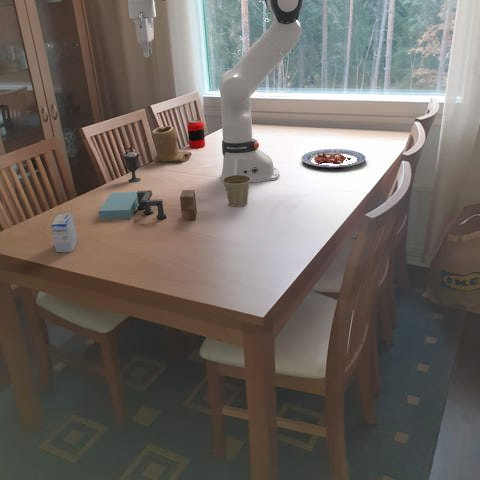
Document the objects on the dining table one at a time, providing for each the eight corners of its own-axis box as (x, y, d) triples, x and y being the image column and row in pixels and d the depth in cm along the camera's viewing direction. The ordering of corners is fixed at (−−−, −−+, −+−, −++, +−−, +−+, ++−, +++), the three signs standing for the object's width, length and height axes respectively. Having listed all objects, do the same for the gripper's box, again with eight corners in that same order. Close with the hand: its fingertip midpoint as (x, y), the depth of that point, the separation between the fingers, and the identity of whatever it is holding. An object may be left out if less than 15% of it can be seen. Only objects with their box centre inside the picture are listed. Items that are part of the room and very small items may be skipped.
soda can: (208, 145, 243) (206, 120, 238) (198, 149, 237) (196, 123, 232) (195, 144, 247) (193, 119, 242) (186, 147, 241) (183, 122, 236)
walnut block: (196, 213, 165) (194, 189, 161) (195, 220, 159) (192, 196, 156) (184, 213, 165) (182, 190, 162) (182, 221, 160) (179, 196, 156)
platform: (141, 199, 179) (139, 191, 177) (130, 218, 163) (129, 209, 162) (112, 201, 179) (111, 192, 178) (99, 219, 164) (98, 210, 162)
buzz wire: (170, 205, 172) (169, 188, 169) (165, 219, 161) (163, 201, 159) (138, 207, 172) (136, 190, 170) (130, 220, 161) (128, 203, 159)
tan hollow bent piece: (149, 164, 218) (145, 129, 212) (160, 157, 229) (156, 123, 222) (183, 165, 215) (179, 130, 208) (192, 157, 225) (189, 123, 219)
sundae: (139, 183, 196) (134, 144, 189) (123, 182, 197) (117, 144, 191) (145, 177, 202) (140, 140, 195) (129, 177, 203) (124, 140, 197)
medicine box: (63, 241, 150) (57, 214, 146) (78, 240, 150) (72, 212, 146) (56, 253, 142) (50, 224, 139) (72, 252, 143) (66, 223, 139)
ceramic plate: (293, 169, 203) (293, 162, 202) (310, 152, 225) (310, 145, 223) (359, 174, 194) (359, 166, 193) (370, 155, 215) (370, 148, 214)
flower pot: (231, 211, 165) (229, 185, 161) (218, 202, 173) (217, 178, 169) (256, 205, 169) (256, 180, 165) (243, 197, 176) (242, 173, 173)
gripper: (149, 12, 162) (154, 58, 168) (154, 11, 180) (159, 52, 186) (129, 13, 162) (135, 59, 167) (136, 12, 180) (141, 54, 186)
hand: (147, 56), depth 177 cm, fingers open, 8 cm apart
